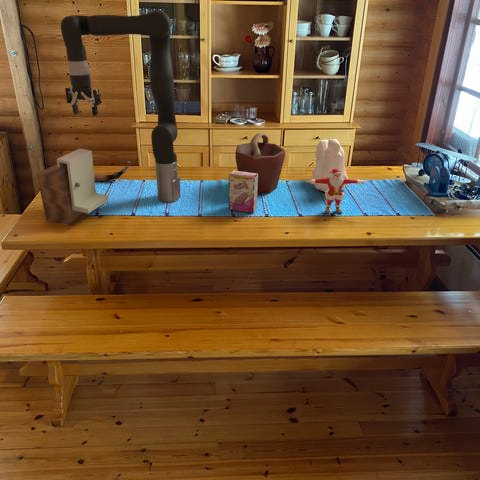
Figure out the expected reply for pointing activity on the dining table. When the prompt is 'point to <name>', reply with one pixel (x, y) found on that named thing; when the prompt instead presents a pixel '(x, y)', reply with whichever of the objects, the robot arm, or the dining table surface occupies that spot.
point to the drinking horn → (110, 177)
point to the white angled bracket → (82, 181)
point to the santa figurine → (335, 188)
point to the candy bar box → (243, 191)
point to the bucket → (261, 162)
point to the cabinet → (57, 195)
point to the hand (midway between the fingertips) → (85, 115)
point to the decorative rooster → (328, 162)
